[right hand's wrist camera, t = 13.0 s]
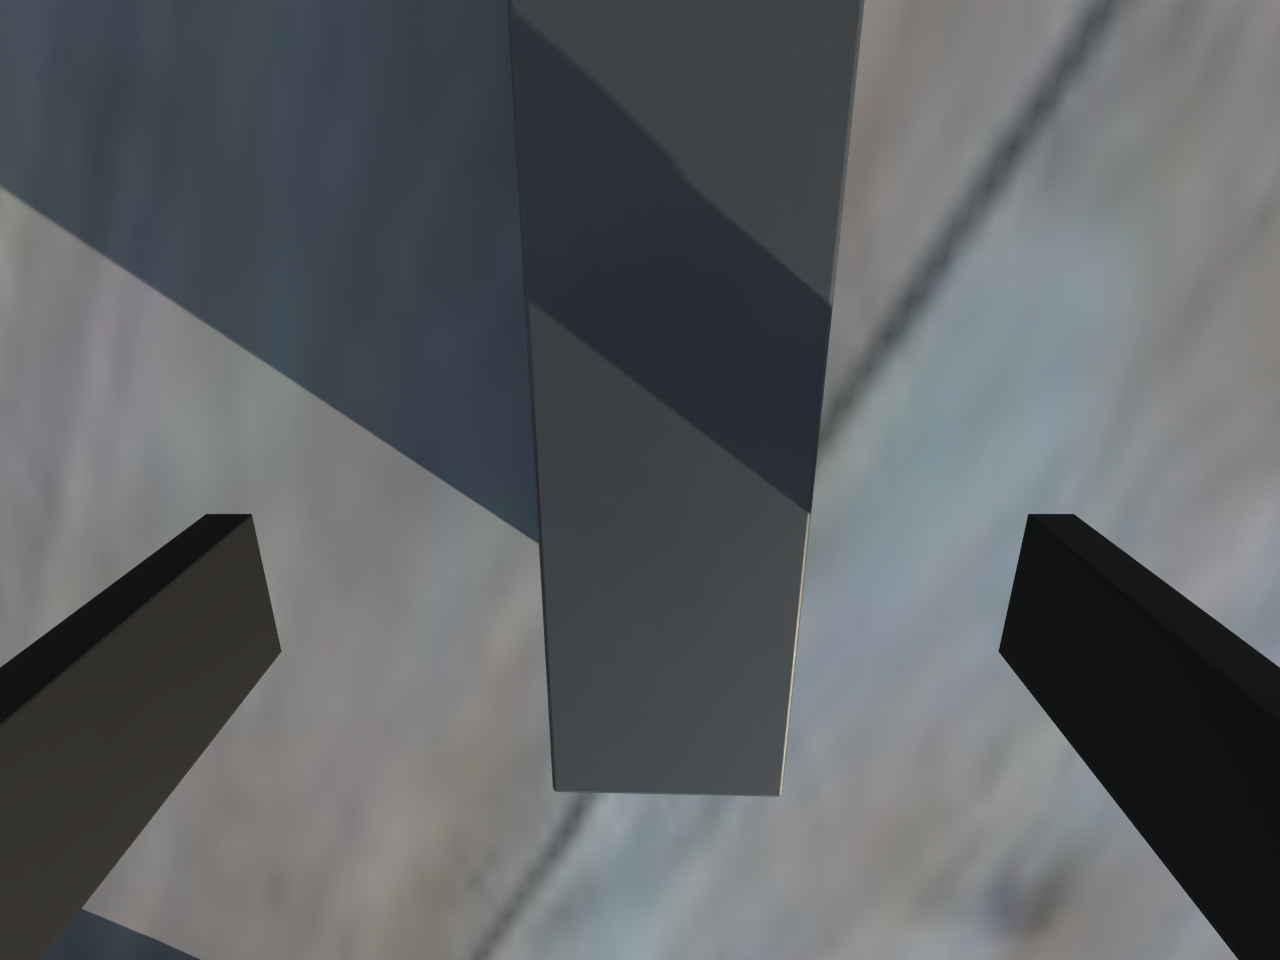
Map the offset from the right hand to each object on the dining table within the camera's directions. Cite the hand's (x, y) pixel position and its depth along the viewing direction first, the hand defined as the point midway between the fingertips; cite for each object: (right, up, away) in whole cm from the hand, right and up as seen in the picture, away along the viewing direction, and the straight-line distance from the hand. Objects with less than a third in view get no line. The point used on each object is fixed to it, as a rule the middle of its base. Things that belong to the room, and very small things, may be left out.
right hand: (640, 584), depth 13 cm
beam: (+1, +15, +2) cm, 16 cm away
